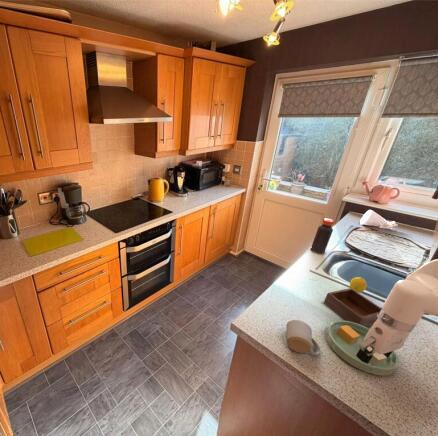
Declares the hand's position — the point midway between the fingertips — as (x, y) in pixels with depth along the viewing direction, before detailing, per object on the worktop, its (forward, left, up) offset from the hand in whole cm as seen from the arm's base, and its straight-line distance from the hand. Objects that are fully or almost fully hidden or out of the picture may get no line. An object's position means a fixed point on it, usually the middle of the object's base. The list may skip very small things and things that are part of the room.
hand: (371, 356), depth 76 cm
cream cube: (0, 0, -1) cm, 1 cm away
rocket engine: (-110, -72, -2) cm, 132 cm away
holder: (-14, -17, -2) cm, 22 cm away
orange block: (0, -8, -1) cm, 8 cm away
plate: (0, -4, -2) cm, 4 cm away
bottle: (-42, -58, -2) cm, 71 cm away
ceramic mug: (+18, -10, -2) cm, 21 cm away
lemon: (-28, -26, -2) cm, 38 cm away
